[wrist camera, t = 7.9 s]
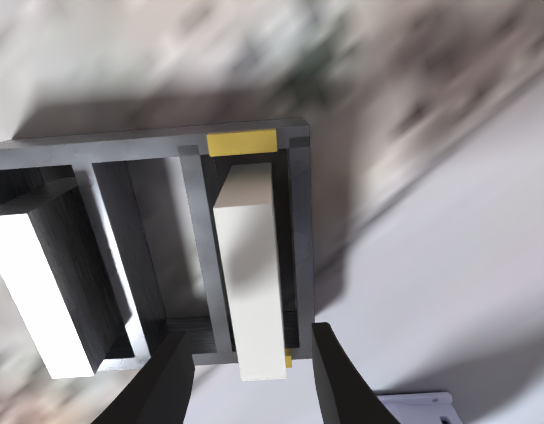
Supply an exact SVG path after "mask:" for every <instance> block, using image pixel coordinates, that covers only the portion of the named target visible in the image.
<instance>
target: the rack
mask: <svg viewBox="0 0 544 424" xmlns="http://www.w3.org/2000/svg"><path fill="white" fill-rule="evenodd" d="M284 148H287V164H288V182H289V200H290V218H291V235H292V253H293V271H294V289H295V307H296V311H289V312H283V323H284V340H285V358H286V368H290V367H292V360H295V359H312V329H311V323H315V319H314V281H313V243H312V205H311V167H310V130H309V124H308V123H307V122H306V121H305V120H304V119H303V117H298V118H285V119H272V120H259V121H246V122H234V123H221V124H208V125H195V126H182V127H169V128H156V129H143V130H130V131H117V132H105V133H92V134H79V135H66V136H53V137H40V138H27V139H14V140H7V141H3V142H0V272H1V274H2V276H3V278H4V280H5V282H6V284H7V286H8V288H9V290H10V293H11V295H12V297H13V299H14V301H15V303H16V305H17V307H18V309H19V311H20V313H21V315H22V317H23V319H24V321H25V323H26V325H27V327H28V329H29V331H30V333H31V335H32V337H33V339H34V341H35V344H36V346H37V348H38V350H39V352H40V354H41V356H42V358H43V360H44V362H45V364H46V366H47V368H48V370H49V372H50V374H51V376H52V378H63V377H80V376H94V375H95V373H96V372H97V371H111V370H128V369H142V367H143V366H144V365H145V364H146V363H147V361H148V360H149V359H150V358H151V356H152V355H153V354H154V352H155V351H156V350H157V349H158V347H159V346H160V345H161V344H162V342H163V341H164V340H165V338H166V337H167V336H168V335H169V334H170V333H171V332H177V331H186V332H187V336H188V341H189V345H190V349H191V353H192V358H193V362H194V366H195V365H211V364H228V363H239V362H238V356H237V350H236V344H235V338H234V332H233V326H232V320H231V314H230V308H229V302H228V296H227V290H226V283H225V277H224V271H223V265H222V259H221V253H220V247H219V241H218V235H217V229H216V223H215V217H214V211H213V207H214V205H215V203H216V200H217V198H218V196H219V194H220V193H219V186H218V180H217V173H216V166H215V159H214V156H226V155H239V154H252V153H266V152H277V149H284ZM177 156H180V161H181V167H182V172H183V177H184V182H185V188H186V193H187V198H188V203H189V208H190V214H191V219H192V224H193V229H194V234H195V240H196V245H197V250H198V255H199V261H200V266H201V271H202V276H203V281H204V287H205V292H206V297H207V302H208V307H209V313H210V317H194V318H178V319H167V318H166V314H165V311H164V307H163V303H162V299H161V295H160V291H159V288H158V284H157V280H156V276H155V272H154V269H153V265H152V261H151V257H150V253H149V249H148V246H147V242H146V238H145V234H144V230H143V226H142V223H141V219H140V215H139V211H138V207H137V204H136V200H135V196H134V192H133V188H132V184H131V181H130V177H129V173H128V169H127V165H126V162H125V160H138V159H151V158H164V157H177ZM58 165H72V168H73V171H74V174H75V177H66V178H57V179H55V180H53V181H51V182H49V183H47V184H44V182H43V179H42V177H41V174H40V171H39V169H38V167H45V166H58Z"/></svg>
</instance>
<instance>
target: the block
mask: <svg viewBox="0 0 544 424" xmlns="http://www.w3.org/2000/svg"><path fill="white" fill-rule="evenodd" d="M213 211H214V217H215V223H216V229H217V235H218V241H219V247H220V253H221V259H222V265H223V271H224V277H225V283H226V290H227V296H228V302H229V308H230V314H231V320H232V326H233V332H234V338H235V344H236V350H237V356H238V362H239V368H240V374H241V380H242V381H253V380H269V379H285V378H287V376H286V358H285V340H284V323H283V305H282V290H281V278H280V265H279V253H278V241H277V229H276V217H275V205H274V193H273V181H272V169H271V162H269V163H257V164H244V165H232V167H231V169H230V171H229V173H228V176H227V178H226V180H225V182H224V185H223V187H222V189H221V191H220V194H219V196H218V198H217V200H216V203H215V205H214V207H213Z"/></svg>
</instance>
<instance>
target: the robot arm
mask: <svg viewBox="0 0 544 424" xmlns="http://www.w3.org/2000/svg"><path fill="white" fill-rule="evenodd" d="M311 329H312V360H313V369H314V377H315V385H316V391H317V395H318V400H319V404H320V409H321V413H322V418H323V422H324V424H463V423H462V422H461V420H460V418H459V416H458V415H457V413H456V411H455V409H454V407H453V406H452V400H453V397H452V396H451V394H450V393H448V392H436V393H419V394H401V395H384V396H376V395H375V394H374V392H373V391H372V390H371V388H370V387H369V386H368V385H367V383H366V382H365V381H364V379H363V378H362V377H361V375H360V374H359V372H358V371H357V370H356V368H355V367H354V365H353V364H352V362H351V361H350V359H349V358H348V356H347V355H346V353H345V352H344V350H343V348H342V347H341V345H340V343H339V342H338V340H337V338H336V336H335V334H334V332H333V330H332V328H331V326H330V324H329V323H327V322H321V323H311ZM194 372H195V366H194V362H193V358H192V353H191V349H190V345H189V341H188V336H187V332H186V331H177V332H171V333H170V334H169V335H168V336H167V337H166V338H165V340H164V341H163V342H162V344H161V345H160V346H159V347H158V349H157V350H156V351H155V352H154V354H153V355H152V356H151V358H150V359H149V360H148V361H147V363H146V364H145V365H144V366H143V367H142V369H141V370H140V371H139V372H138V373H137V375H136V376H135V377H134V378H133V379H132V381H131V382H130V383H129V384H128V385H127V386H126V387H125V388H124V390H123V391H122V392H121V393H120V394H119V395H118V396H117V397H116V398H115V400H114V401H113V402H112V403H111V404H110V405H109V406H108V407H107V408H106V409H105V410H104V411H103V412H102V413H101V414H100V415H99V416H98V417H97V418H96V419H95V420H94V421H93V422H92V423H91V424H183V421H184V418H185V414H186V411H187V407H188V403H189V400H190V396H191V390H192V385H193V378H194Z"/></svg>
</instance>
